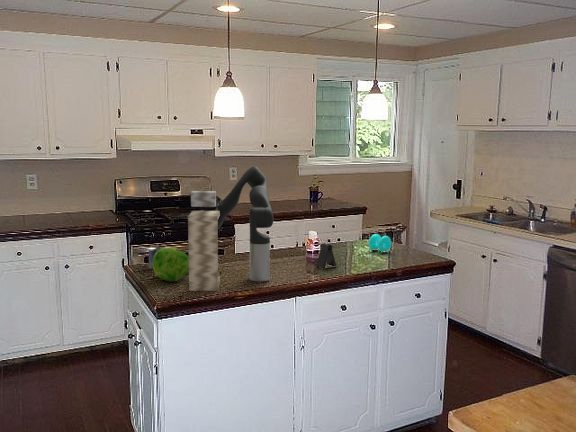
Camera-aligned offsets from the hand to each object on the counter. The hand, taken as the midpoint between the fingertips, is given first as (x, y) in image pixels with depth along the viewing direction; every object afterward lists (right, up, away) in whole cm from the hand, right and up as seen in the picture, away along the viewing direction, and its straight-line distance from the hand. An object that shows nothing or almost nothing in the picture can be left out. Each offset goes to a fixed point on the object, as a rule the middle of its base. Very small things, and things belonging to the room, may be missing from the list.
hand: (206, 194), depth 241 cm
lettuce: (-17, -39, +2) cm, 42 cm away
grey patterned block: (0, -4, -6) cm, 7 cm away
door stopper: (+56, -36, +30) cm, 73 cm away
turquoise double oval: (+90, -31, +68) cm, 117 cm away
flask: (-28, -35, +24) cm, 51 cm away
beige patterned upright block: (0, -40, -6) cm, 41 cm away
